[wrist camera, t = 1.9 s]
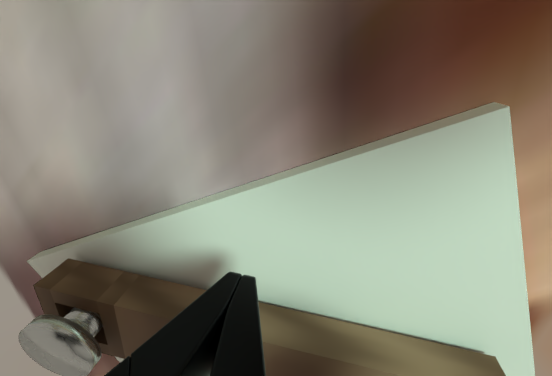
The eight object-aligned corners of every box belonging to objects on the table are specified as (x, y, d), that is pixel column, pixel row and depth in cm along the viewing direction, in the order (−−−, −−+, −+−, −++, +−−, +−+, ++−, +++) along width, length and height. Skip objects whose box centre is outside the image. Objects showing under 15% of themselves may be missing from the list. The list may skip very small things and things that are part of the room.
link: (83, 310, 15) (54, 340, 14) (68, 258, 13) (33, 285, 12) (457, 403, 13) (474, 451, 12) (495, 356, 11) (522, 405, 10)
